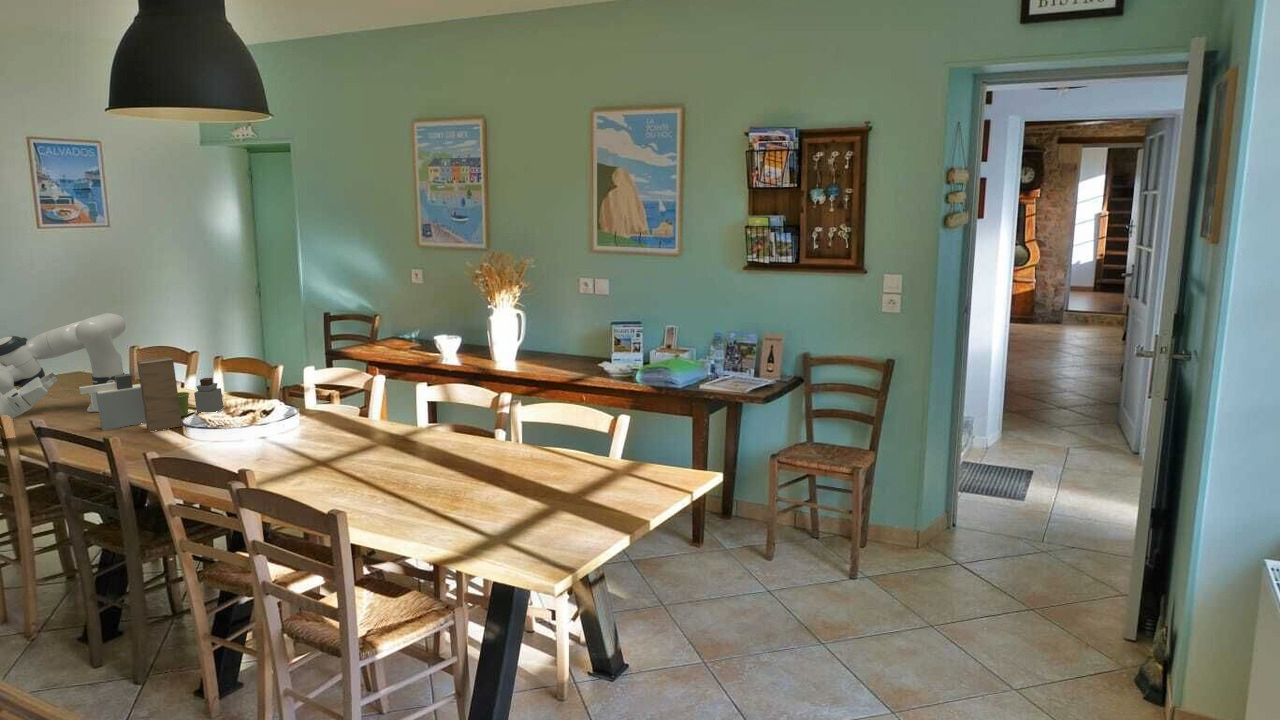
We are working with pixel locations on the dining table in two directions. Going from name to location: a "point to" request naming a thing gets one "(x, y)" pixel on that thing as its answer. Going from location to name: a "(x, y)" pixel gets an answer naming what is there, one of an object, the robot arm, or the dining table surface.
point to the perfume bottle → (208, 396)
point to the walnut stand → (159, 393)
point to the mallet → (109, 385)
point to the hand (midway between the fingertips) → (55, 376)
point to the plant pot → (183, 402)
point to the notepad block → (120, 407)
